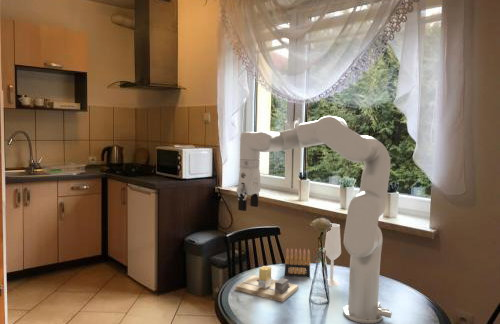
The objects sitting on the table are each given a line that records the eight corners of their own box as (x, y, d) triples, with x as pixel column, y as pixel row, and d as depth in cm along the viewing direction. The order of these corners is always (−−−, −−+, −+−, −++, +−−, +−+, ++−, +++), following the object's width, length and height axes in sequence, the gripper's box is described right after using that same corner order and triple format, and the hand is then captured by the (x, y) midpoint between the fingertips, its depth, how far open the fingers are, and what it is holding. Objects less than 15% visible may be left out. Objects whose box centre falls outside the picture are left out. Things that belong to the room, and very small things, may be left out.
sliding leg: (275, 282, 154) (275, 264, 154) (265, 289, 147) (265, 270, 147) (268, 280, 156) (268, 263, 155) (258, 287, 149) (258, 269, 148)
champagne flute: (336, 279, 164) (338, 222, 162) (342, 286, 157) (344, 226, 155) (320, 280, 163) (322, 223, 161) (326, 286, 156) (328, 227, 154)
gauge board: (298, 288, 153) (298, 275, 153) (282, 301, 141) (283, 286, 140) (253, 278, 163) (253, 265, 162) (235, 289, 151) (235, 275, 150)
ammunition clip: (309, 275, 168) (310, 248, 167) (310, 277, 166) (310, 249, 165) (284, 274, 169) (285, 246, 168) (284, 276, 167) (285, 248, 166)
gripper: (247, 166, 141) (246, 213, 142) (268, 163, 156) (266, 206, 158) (229, 165, 145) (228, 211, 146) (251, 162, 160) (250, 204, 161)
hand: (248, 208), depth 152 cm, fingers open, 9 cm apart
